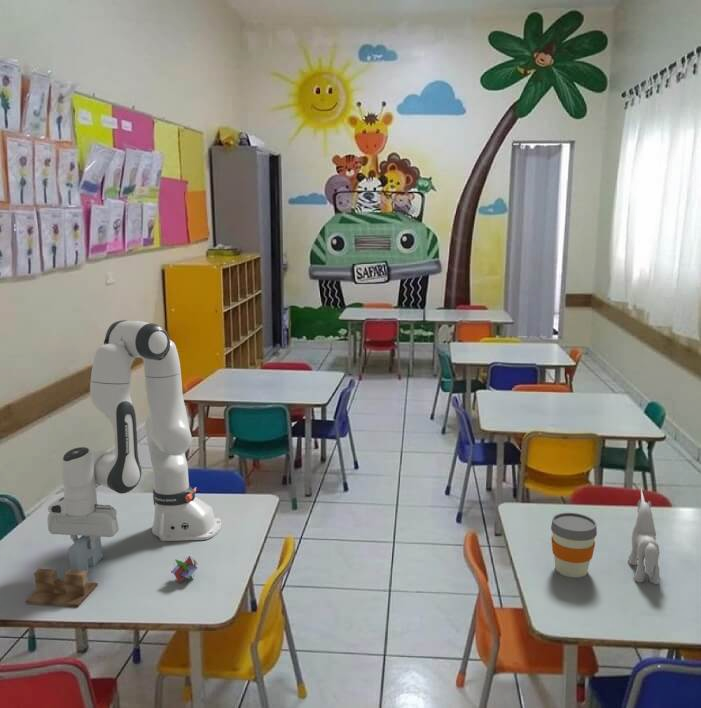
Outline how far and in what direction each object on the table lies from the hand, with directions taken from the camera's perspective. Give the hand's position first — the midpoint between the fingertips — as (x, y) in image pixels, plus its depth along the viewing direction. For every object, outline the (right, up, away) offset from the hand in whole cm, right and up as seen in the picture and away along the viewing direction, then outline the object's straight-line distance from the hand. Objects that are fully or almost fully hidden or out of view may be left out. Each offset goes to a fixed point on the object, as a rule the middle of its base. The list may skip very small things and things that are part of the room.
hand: (85, 547), depth 207 cm
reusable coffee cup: (+142, -6, -2) cm, 142 cm away
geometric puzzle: (+30, -8, -5) cm, 32 cm away
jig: (-2, -9, -12) cm, 15 cm away
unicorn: (+163, -6, -1) cm, 163 cm away
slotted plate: (0, -6, +1) cm, 7 cm away
